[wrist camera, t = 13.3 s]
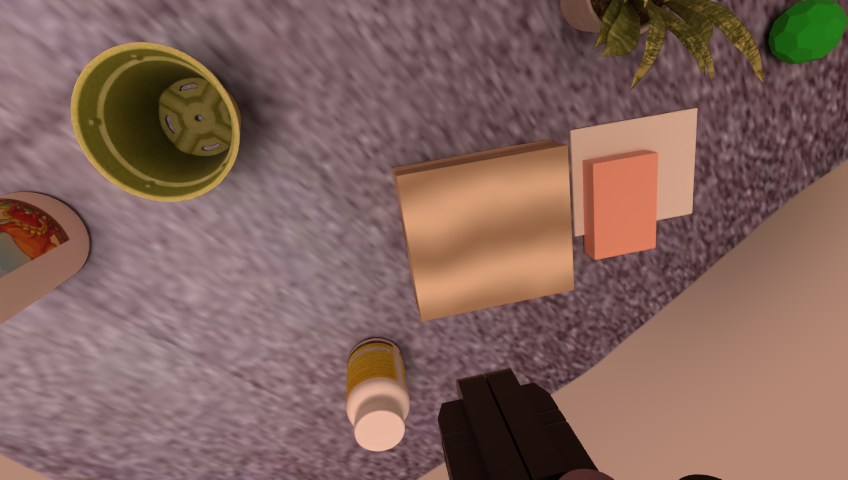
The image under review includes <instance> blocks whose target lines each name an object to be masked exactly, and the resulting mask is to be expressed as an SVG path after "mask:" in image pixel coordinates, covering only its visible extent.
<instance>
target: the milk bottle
mask: <svg viewBox="0 0 848 480" xmlns="http://www.w3.org/2000/svg"><path fill="white" fill-rule="evenodd" d="M89 245H90V244H89V236H88V233H87V230H86V227H85V226H84V224H83V222H82V220H81V219H80V218H79V217H78V216H77V214H76V213H75V212H74V211H73V210H71V209H70V208H69V207H68V206H67V205H65V204H63V203H62V202H60V201H59V200H56V199H54V198H51V197H49V196H46V195H42V194H38V193H33V192H15V193H10V194H6V195H2V196H0V324H2V323H3V322H5V321H6V320H8V319H9V318H11V317H12V316H14V315H15V314H17V313H18V312H20V311H22V310H23V309H25V308H26V307H28V306H29V305H31V304H32V303H33V302H35V301H36V300H38V299H39V298H41V297H42V296H44V295H45V294H47V293H48V292H50V291H51V290H53V289H54V288H56V287H57V286H59V285H60V284H62V283H63V282H65V281H66V280H68V279H69V278H70V277H72V276H73V275H74V274H76V273H77V272H78V271H79V270H80V269H81V268H82V266H83V265H84V263H85V261H86V259H87V256H88V253H89Z"/></svg>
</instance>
